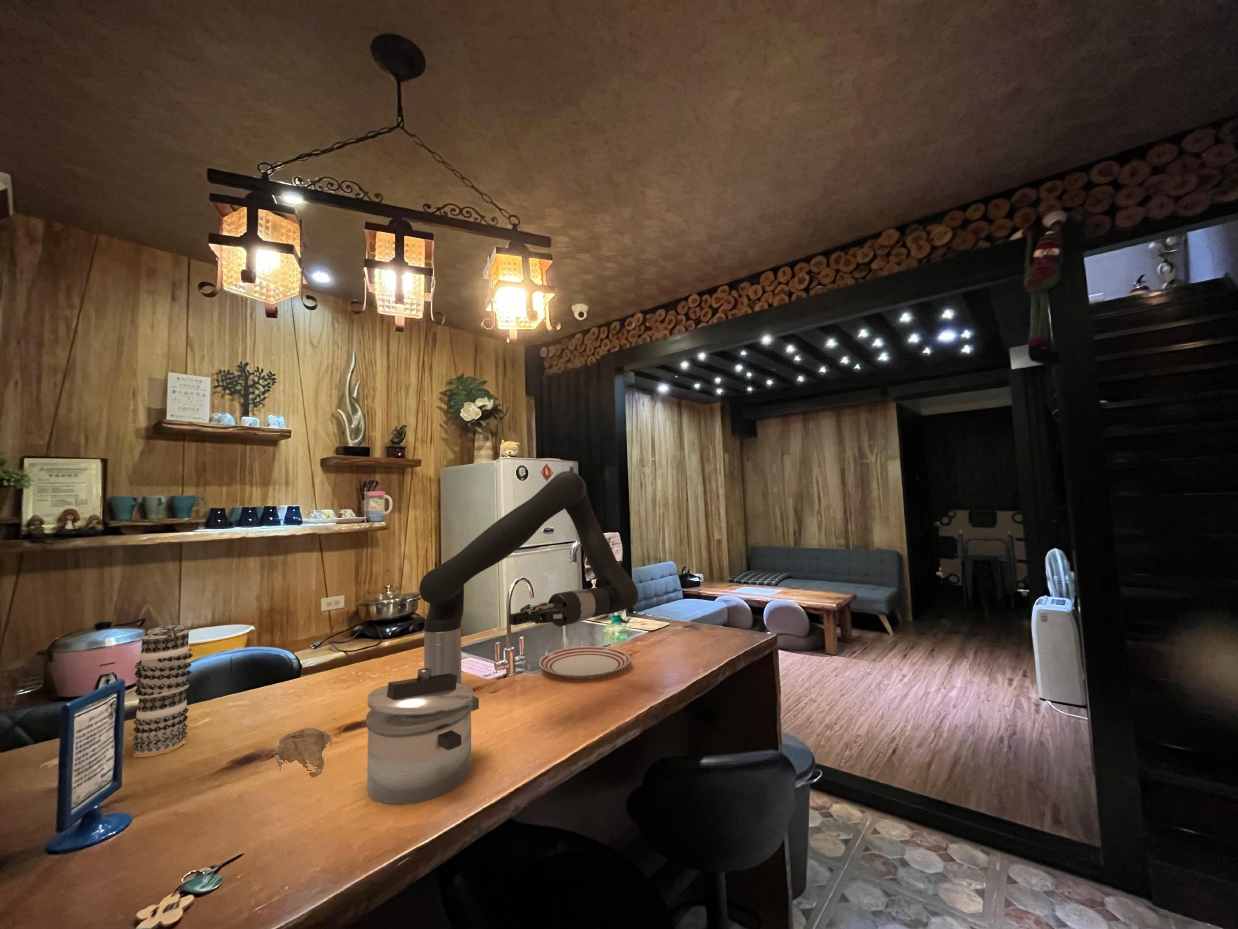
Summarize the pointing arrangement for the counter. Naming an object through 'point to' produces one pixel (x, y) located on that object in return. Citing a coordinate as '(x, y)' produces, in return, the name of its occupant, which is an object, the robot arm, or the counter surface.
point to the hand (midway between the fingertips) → (511, 620)
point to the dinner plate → (584, 661)
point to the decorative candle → (162, 689)
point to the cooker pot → (418, 754)
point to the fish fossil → (303, 748)
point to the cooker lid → (421, 695)
